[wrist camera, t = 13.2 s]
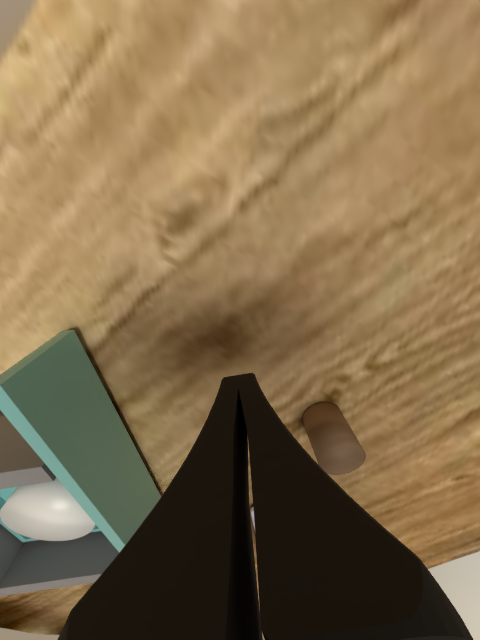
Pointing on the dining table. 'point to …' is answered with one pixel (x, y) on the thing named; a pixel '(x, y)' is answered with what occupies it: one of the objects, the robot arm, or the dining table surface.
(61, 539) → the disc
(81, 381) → the slide tray
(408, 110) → the dining table surface
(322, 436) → the brown short cylinder
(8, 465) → the box
